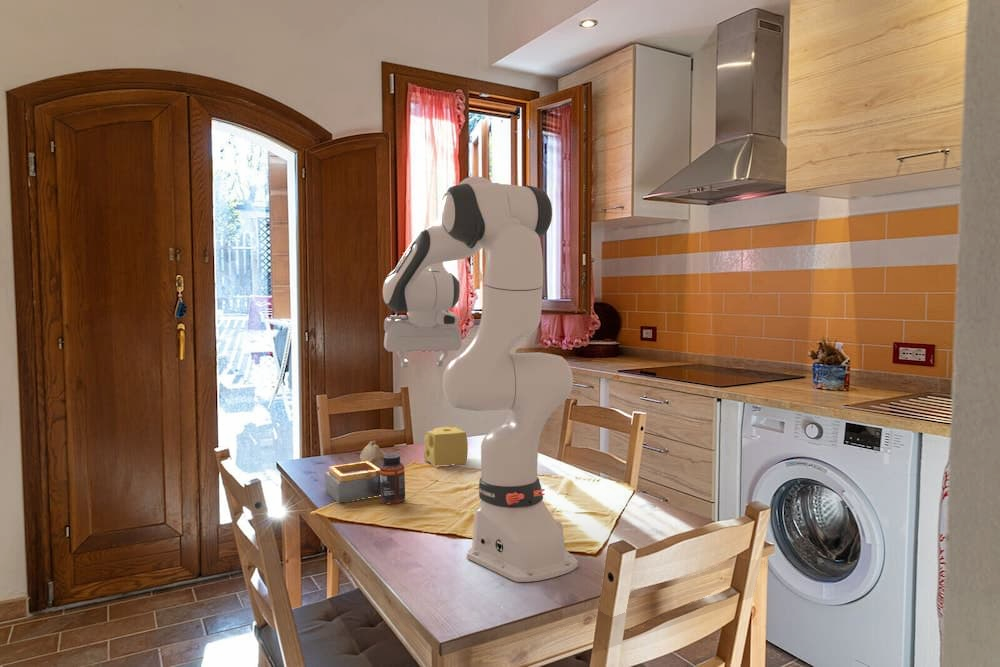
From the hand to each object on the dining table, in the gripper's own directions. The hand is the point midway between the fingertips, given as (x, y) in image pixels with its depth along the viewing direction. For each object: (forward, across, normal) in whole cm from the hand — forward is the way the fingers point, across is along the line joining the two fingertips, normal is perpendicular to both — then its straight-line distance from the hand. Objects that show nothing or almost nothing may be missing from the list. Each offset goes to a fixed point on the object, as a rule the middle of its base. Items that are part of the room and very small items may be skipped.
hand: (422, 366), depth 173 cm
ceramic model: (+34, -11, +7) cm, 37 cm away
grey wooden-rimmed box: (+31, -18, -8) cm, 37 cm away
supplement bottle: (+29, -10, -18) cm, 35 cm away
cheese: (+35, +12, +14) cm, 39 cm away
